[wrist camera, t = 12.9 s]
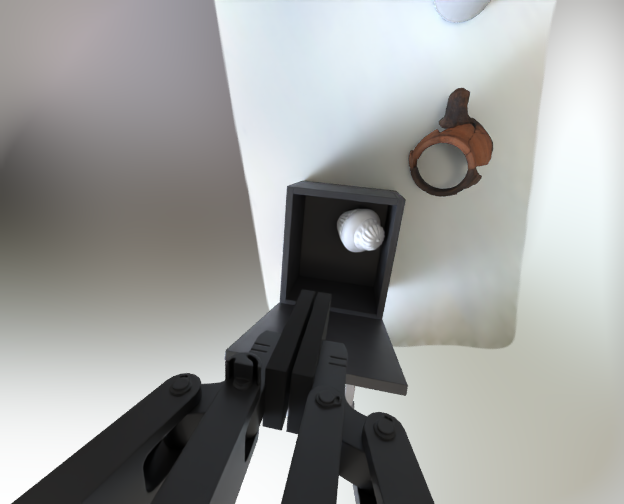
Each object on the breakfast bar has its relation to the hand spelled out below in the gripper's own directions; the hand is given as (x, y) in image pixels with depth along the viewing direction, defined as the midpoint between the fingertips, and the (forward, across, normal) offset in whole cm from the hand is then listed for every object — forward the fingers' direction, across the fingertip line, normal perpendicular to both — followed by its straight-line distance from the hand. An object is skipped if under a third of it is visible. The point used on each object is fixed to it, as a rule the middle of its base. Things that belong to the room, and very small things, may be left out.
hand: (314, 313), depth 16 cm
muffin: (+26, 0, 0) cm, 26 cm away
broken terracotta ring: (+29, +12, +11) cm, 33 cm away
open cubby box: (+28, 0, -3) cm, 29 cm away
